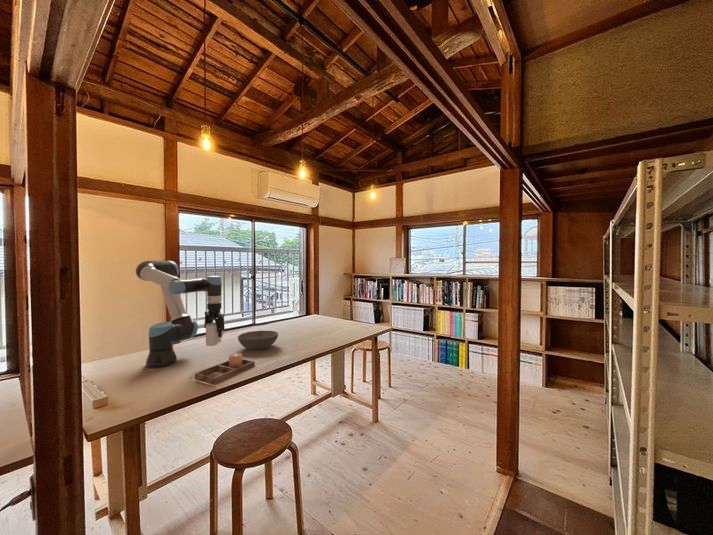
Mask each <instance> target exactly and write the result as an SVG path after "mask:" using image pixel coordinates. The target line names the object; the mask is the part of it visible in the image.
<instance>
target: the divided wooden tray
mask: <svg viewBox="0 0 713 535" xmlns="http://www.w3.org/2000/svg"><path fill="white" fill-rule="evenodd" d="M255 364H256V363H255V361H254V360H251V359H245V358H242V366H241V367H239V368H236V369H235V368H230V367H229V359H228V360H226V361H223V362H221V363H218V364H216V365H213V366H211V367H209V368H206V369H203V370H200V371H198V372H195V373H194V378H195V379H194V380H195V381H198V382H203V383H207V384H210V385H214V386H216V384H218V383H220V382H222V381H224V380H226V379H228V378H231V377H233V376H235V375H237V374H240V373H241V372H244V371H246V370H248V369H250V368H253V367H254V366H255Z"/></svg>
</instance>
